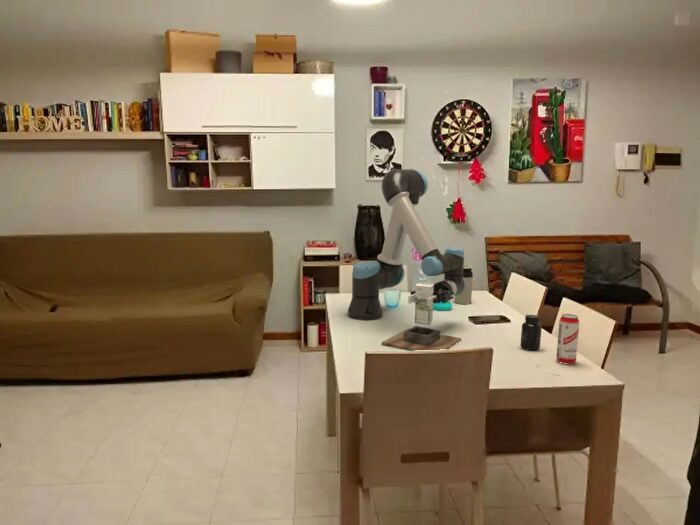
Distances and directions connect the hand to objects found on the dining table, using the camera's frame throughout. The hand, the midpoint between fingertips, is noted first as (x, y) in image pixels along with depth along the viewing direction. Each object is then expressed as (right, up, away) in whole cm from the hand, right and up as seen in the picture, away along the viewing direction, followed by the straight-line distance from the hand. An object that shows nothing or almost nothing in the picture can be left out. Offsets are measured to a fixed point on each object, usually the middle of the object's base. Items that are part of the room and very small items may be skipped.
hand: (418, 301), depth 199 cm
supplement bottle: (+41, -17, +3) cm, 44 cm away
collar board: (+2, -16, +7) cm, 18 cm away
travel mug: (+30, -6, +71) cm, 78 cm away
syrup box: (+3, -8, +6) cm, 10 cm away
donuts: (+18, -8, +59) cm, 62 cm away
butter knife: (+37, -21, -14) cm, 44 cm away
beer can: (+48, -20, -11) cm, 53 cm away
